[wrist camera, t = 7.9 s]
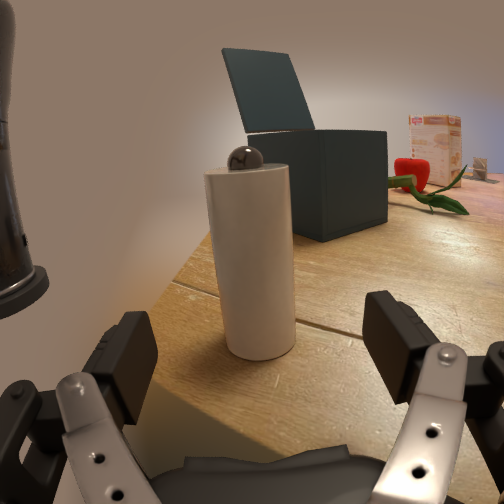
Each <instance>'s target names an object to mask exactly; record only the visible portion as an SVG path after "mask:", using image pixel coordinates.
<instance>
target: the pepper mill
mask: <svg viewBox="0 0 504 504" xmlns="http://www.w3.org/2000/svg"><path fill="white" fill-rule="evenodd" d="M204 181H205V190H206V199H207V207H208V216H209V224H210V232H211V240H212V247H213V255H214V262H215V270H216V277H217V284H218V291H219V298H220V305H221V312H222V318H223V325H224V331H225V338H226V344H227V347H228V349H229V350H230V351H231V352H232V353H233V354H234V355H236V356H238V357H240V358H243V359H247V360H254V361H261V360H269V359H273V358H276V357H279V356H281V355H283V354H285V353H286V352H288V351H289V350H290V349H291V348H292V347H293V345H294V343H295V340H296V320H295V280H294V252H293V229H292V209H291V191H290V175H289V166H288V165H286V164H276V163H269V164H264V159H263V156H262V154H261V153H260V152H259V151H258V150H257V149H255V148H253V147H250V146H241V147H238V148H236V149H235V150H234V151H233V152H232V153H231V154H230V155H229V158H228V161H227V167H223V168H218V169H213V170H209V171H206V172H204Z"/></svg>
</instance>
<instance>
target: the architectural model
mask: <svg viewBox="0 0 504 504" xmlns="http://www.w3.org/2000/svg"><path fill="white" fill-rule="evenodd" d="M468 168H469V169H473V176H468V175H464V176H462V177H461V178H466V179H472V180H478V181H483V182H488V183H493V184H495V183H497V182H500V181H496V180H491V179H487V159H481V158H474V164H473V168H472V167H468Z"/></svg>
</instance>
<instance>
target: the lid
mask: <svg viewBox="0 0 504 504" xmlns="http://www.w3.org/2000/svg"><path fill="white" fill-rule="evenodd" d="M222 55H223V58H224V61H225V64H226V68H227V71H228V74H229V78H230V81H231V84H232V88H233V91H234V95H235V98H236V102H237V105H238V108H239V112H240V115H241V119H242V122H243V126H244V129H245V133H260V132H280V131H304V130H314V129H315V126H314V124H313V121H312V118H311V115H310V112H309V109H308V106H307V103H306V100H305V98H304V95H303V92H302V89H301V87H300V84H299V81H298V79H297V76H296V73H295V71H294V68H293V65H292V63H291V60H290V58H289V55H288V54H284V53H276V52H268V51H257V50H247V49H232V48H223V49H222Z"/></svg>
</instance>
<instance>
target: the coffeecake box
mask: <svg viewBox="0 0 504 504" xmlns="http://www.w3.org/2000/svg"><path fill="white" fill-rule="evenodd" d="M409 130H410V158H412V159H424V160H426V161H428V162H429V164H430V175H429V178H428V181H427V183H430V184H435V185H439V186H444V187H447V186H449V185H450V184H451V183H452V182H453V181H454V179H455V178H456V177H457V176H458V174H459V173H460V172H461V171H462V163H461V162H462V150H461V148H462V147H461V121H460V117H457V116H451V115H409ZM452 187H461V179H460V180H459V181H458V182H457V183H456V184H455V185H454V186H452Z"/></svg>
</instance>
